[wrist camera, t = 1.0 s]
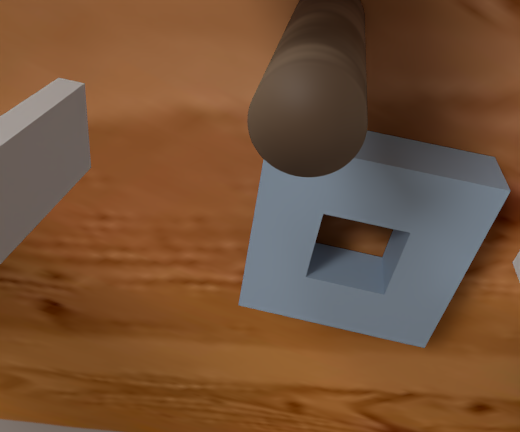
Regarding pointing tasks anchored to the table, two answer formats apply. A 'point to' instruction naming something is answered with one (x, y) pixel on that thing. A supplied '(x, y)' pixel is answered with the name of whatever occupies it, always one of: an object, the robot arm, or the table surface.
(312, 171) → the peg
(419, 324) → the socket block
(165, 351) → the table surface
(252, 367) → the table surface
